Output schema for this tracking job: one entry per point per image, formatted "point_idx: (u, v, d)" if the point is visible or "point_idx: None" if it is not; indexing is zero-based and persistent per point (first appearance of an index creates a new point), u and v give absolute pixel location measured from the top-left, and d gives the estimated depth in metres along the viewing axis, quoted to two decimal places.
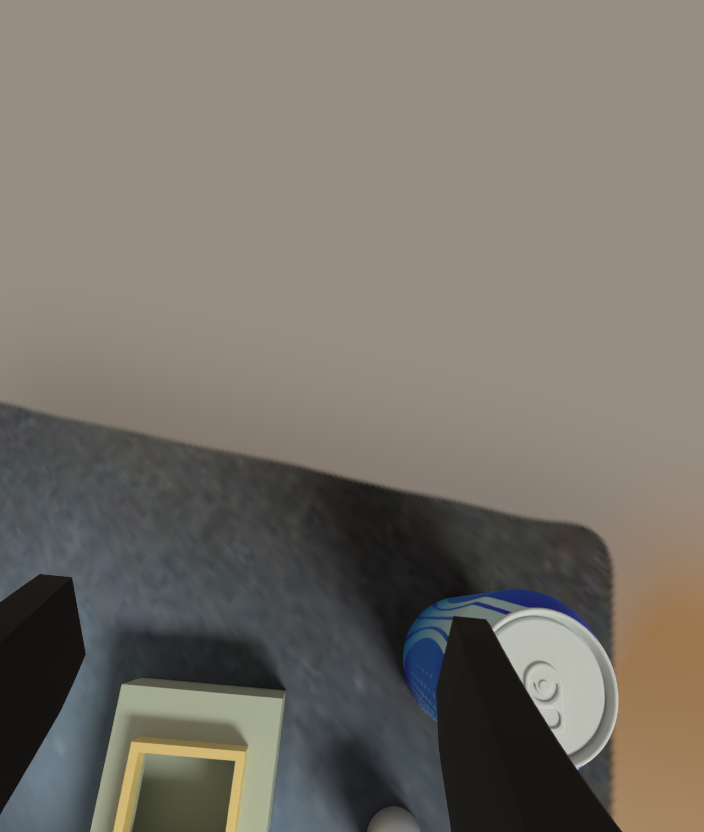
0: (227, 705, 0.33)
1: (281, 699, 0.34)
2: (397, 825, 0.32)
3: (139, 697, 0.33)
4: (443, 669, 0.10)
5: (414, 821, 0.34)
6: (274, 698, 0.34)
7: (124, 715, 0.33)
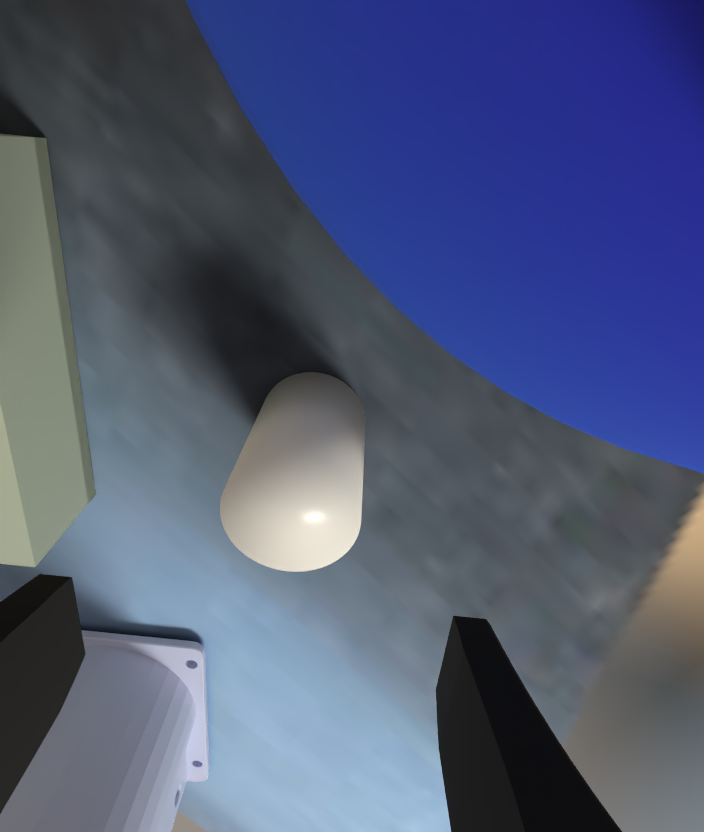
0: None
1: None
2: (292, 418, 0.15)
3: None
4: (443, 669, 0.10)
5: (345, 402, 0.17)
6: None
7: None
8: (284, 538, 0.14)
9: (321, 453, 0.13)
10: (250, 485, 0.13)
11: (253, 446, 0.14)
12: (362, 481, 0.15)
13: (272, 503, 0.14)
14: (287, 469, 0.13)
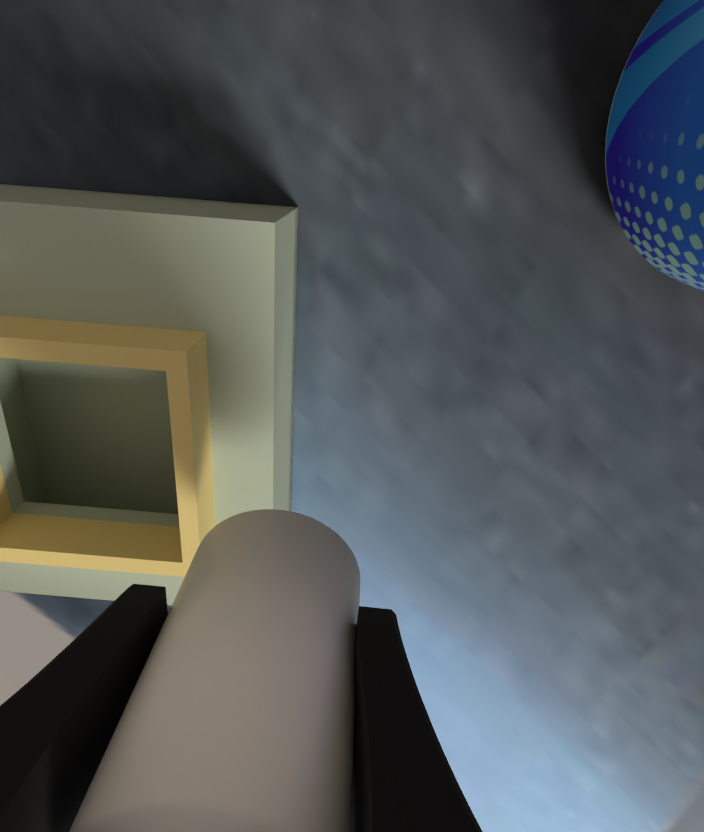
0: (131, 240, 0.13)
1: (272, 224, 0.12)
2: (215, 654, 0.08)
3: None
4: None
5: (322, 576, 0.10)
6: (253, 222, 0.12)
7: None
8: None
9: (259, 773, 0.06)
10: None
11: (130, 733, 0.07)
12: (352, 762, 0.08)
13: None
14: (185, 824, 0.06)
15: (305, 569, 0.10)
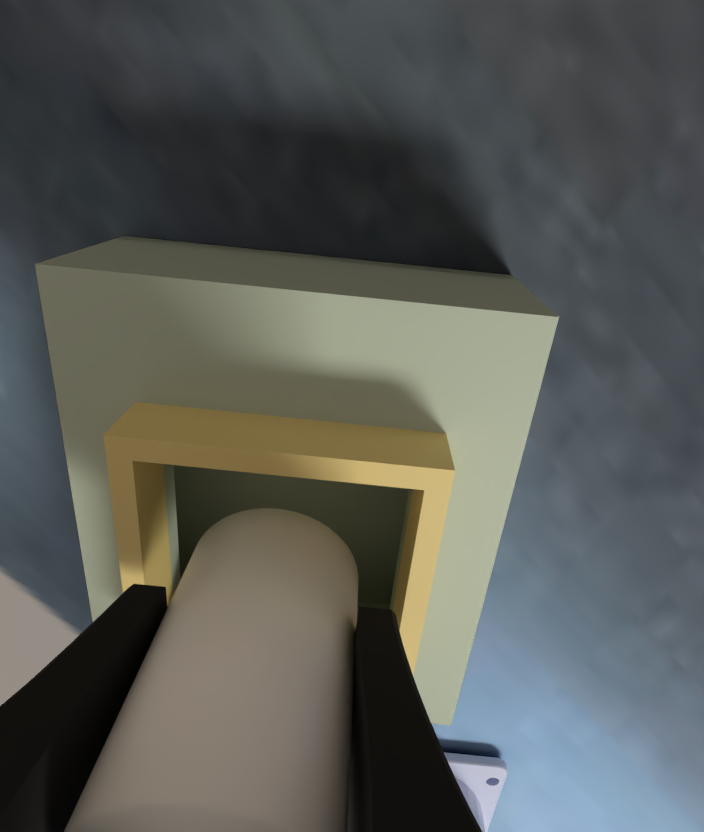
0: (380, 332, 0.11)
1: (554, 318, 0.10)
2: (210, 653, 0.08)
3: (103, 303, 0.11)
4: None
5: (319, 574, 0.10)
6: (531, 315, 0.10)
7: (76, 350, 0.11)
8: None
9: (253, 771, 0.06)
10: None
11: (125, 734, 0.07)
12: (349, 760, 0.08)
13: None
14: (179, 823, 0.06)
15: (302, 567, 0.10)
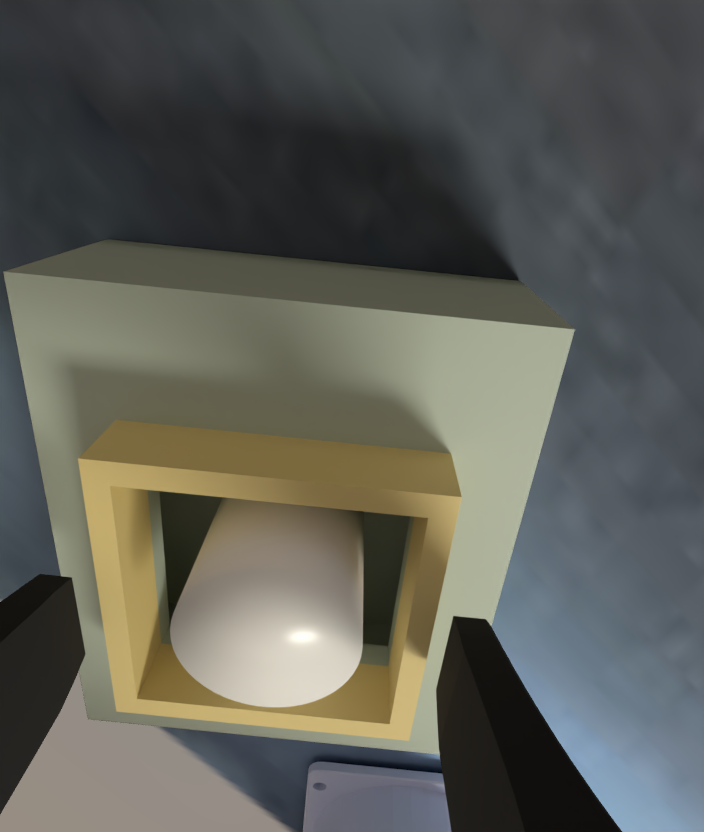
0: (380, 345, 0.10)
1: (570, 331, 0.09)
2: (265, 502, 0.11)
3: (79, 314, 0.10)
4: (443, 669, 0.10)
5: None
6: (544, 327, 0.09)
7: (50, 365, 0.10)
8: (261, 669, 0.10)
9: (302, 557, 0.10)
10: (208, 608, 0.10)
11: (211, 547, 0.10)
12: (362, 578, 0.11)
13: (241, 628, 0.10)
14: (256, 585, 0.10)
15: None
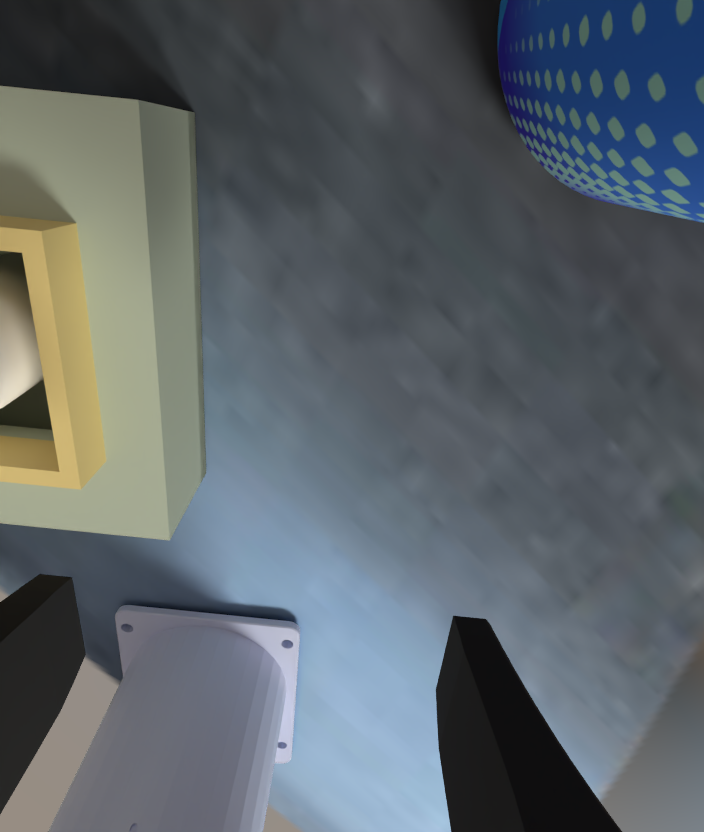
0: None
1: (136, 102, 0.12)
2: None
3: None
4: (443, 669, 0.10)
5: None
6: (116, 99, 0.12)
7: None
8: None
9: None
10: None
11: None
12: (18, 341, 0.14)
13: None
14: None
15: (23, 266, 0.15)
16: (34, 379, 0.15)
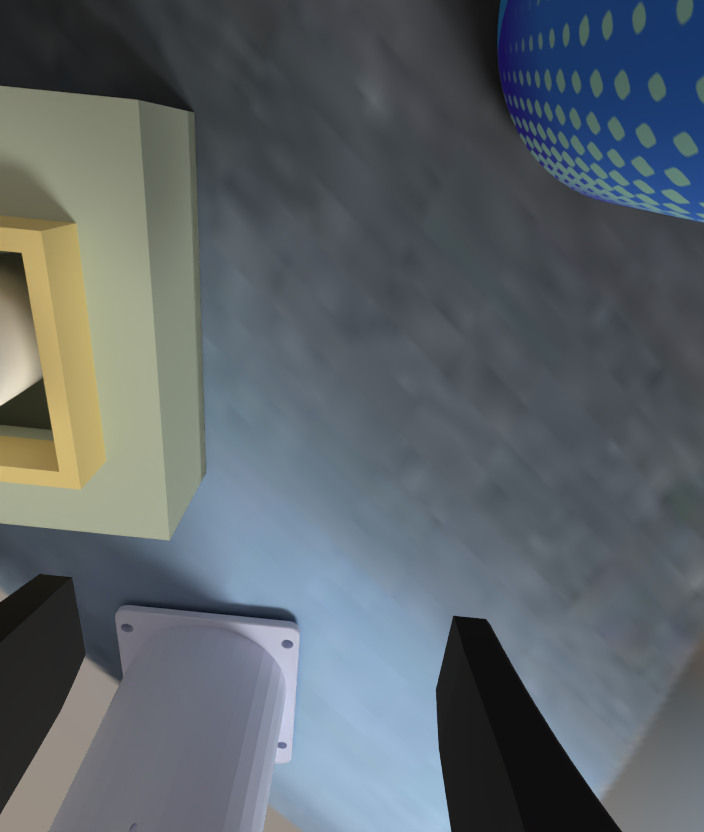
0: None
1: (135, 102, 0.12)
2: None
3: None
4: (443, 669, 0.10)
5: None
6: (116, 99, 0.12)
7: None
8: None
9: None
10: None
11: None
12: (18, 336, 0.14)
13: None
14: None
15: (23, 264, 0.15)
16: (35, 376, 0.15)
